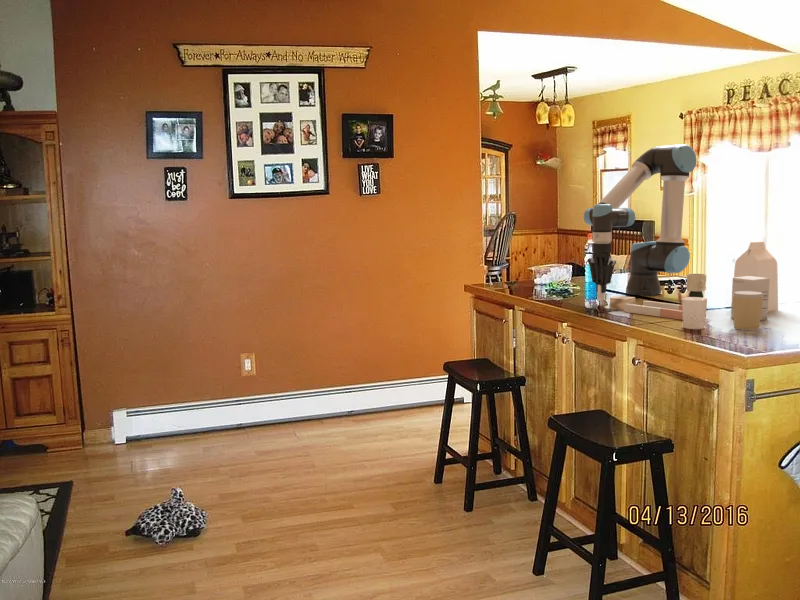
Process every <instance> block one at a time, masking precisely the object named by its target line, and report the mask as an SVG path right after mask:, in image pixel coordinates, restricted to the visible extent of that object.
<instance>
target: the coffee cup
mask: <svg viewBox="0 0 800 600" xmlns="http://www.w3.org/2000/svg"><path fill="white" fill-rule="evenodd" d="M762 301H763V293H761V292H755V291H736V292H734V294H733V308H734V319H733V328H735V329H737V330H740V331H741V330H742V331H758V330H759V329H760V326H761V325H760V324H761V320H760V318H761V310H762Z"/></svg>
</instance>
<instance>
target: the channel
mask: <svg viewBox="0 0 800 600" xmlns="http://www.w3.org/2000/svg"><path fill="white" fill-rule="evenodd" d="M623 312H625V313H632V314H638V315H643V316H644V315H647V316H652V317H658V318H659V317H660V318H667V319H675V320H679V321H680V320H681V321H683V313H682V304H677V303H676V304H675V303H669V302H661V301H660V302H659V301H651V300H643V302H642V305H640V304H635V305H634V304H624V310H623Z"/></svg>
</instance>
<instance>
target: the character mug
mask: <svg viewBox="0 0 800 600" xmlns="http://www.w3.org/2000/svg"><path fill="white" fill-rule="evenodd" d="M706 283H707V274H705V273H687V275H686V291H688V292H689V294H688V297H701V298H704V293H703V292H705V291H706V290H707V286H706Z"/></svg>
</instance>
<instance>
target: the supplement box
mask: <svg viewBox="0 0 800 600" xmlns="http://www.w3.org/2000/svg"><path fill="white" fill-rule="evenodd" d="M769 281H770V278H763V277H754V276H743V277H734V276H733V277H732V285H731V287H732V288H731V289H732V290H731V303H732V305H731V306H730V319H733V320H734V308H733V294H734V292H736V291H755V292H761V293H763V301H762V310H761V318H760V321H764V320H768V318H769V317H768V314H769V311H768V298H769Z"/></svg>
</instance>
